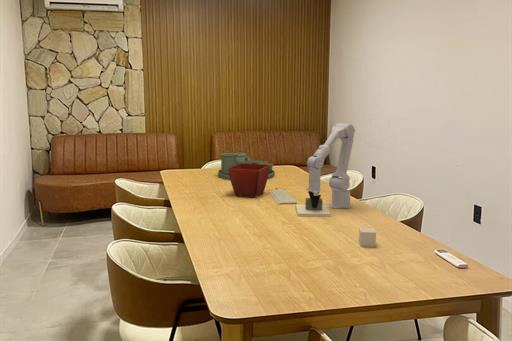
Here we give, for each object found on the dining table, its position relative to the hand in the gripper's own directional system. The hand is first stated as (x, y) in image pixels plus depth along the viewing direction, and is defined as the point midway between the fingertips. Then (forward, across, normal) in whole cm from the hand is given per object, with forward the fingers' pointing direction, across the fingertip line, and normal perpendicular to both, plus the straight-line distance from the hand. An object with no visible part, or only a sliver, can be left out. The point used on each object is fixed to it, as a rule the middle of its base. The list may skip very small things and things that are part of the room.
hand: (313, 206), depth 248 cm
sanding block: (+1, 0, 0) cm, 1 cm away
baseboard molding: (+4, -31, -15) cm, 35 cm away
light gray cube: (+3, +50, +16) cm, 53 cm away
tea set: (+3, -97, -37) cm, 104 cm away
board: (+3, 0, -1) cm, 3 cm away
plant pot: (+3, -38, -34) cm, 51 cm away
